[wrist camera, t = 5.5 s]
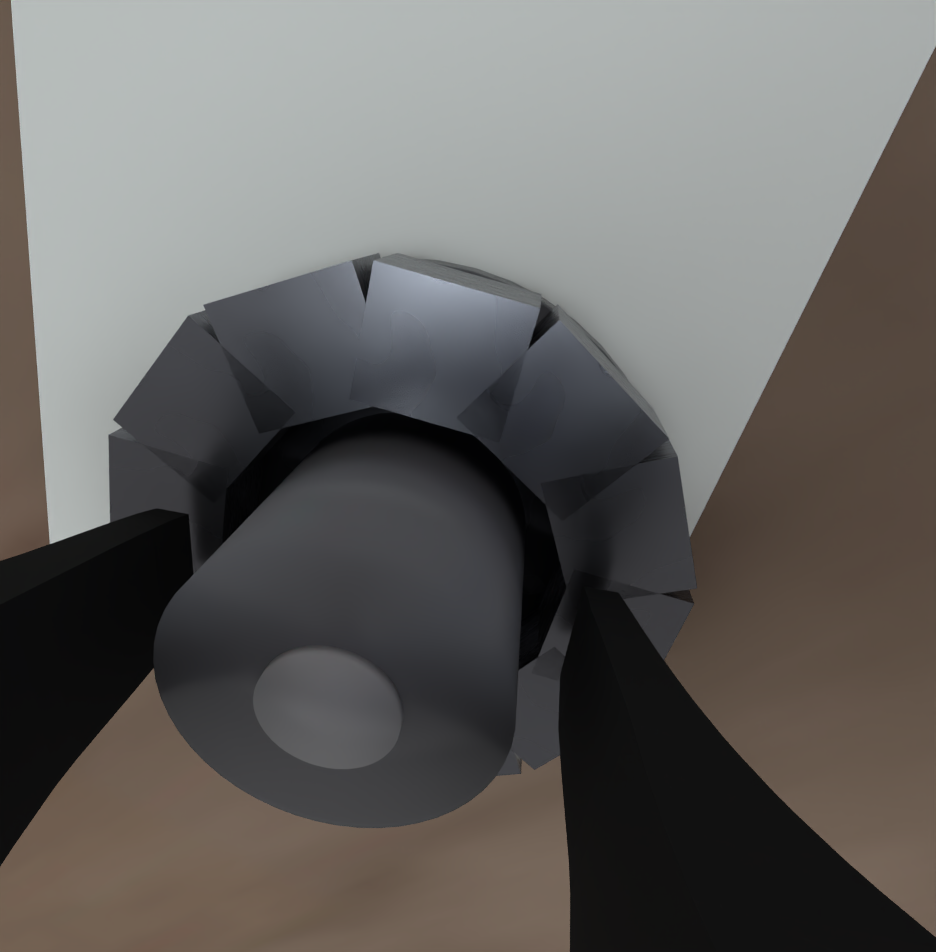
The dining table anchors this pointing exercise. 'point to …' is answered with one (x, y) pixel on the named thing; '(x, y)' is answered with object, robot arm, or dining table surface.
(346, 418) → the toothed grey gear
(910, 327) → the dining table surface
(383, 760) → the cap
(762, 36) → the mat
